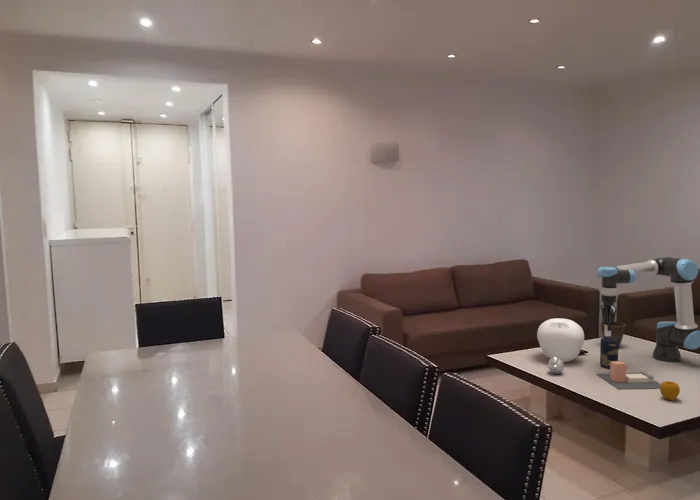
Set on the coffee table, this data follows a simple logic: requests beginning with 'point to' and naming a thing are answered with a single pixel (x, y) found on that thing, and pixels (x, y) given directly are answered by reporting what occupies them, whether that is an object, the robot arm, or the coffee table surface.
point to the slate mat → (630, 385)
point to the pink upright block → (617, 371)
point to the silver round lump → (556, 365)
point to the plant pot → (615, 331)
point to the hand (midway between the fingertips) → (607, 335)
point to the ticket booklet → (639, 378)
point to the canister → (608, 351)
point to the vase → (560, 338)
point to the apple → (669, 390)
